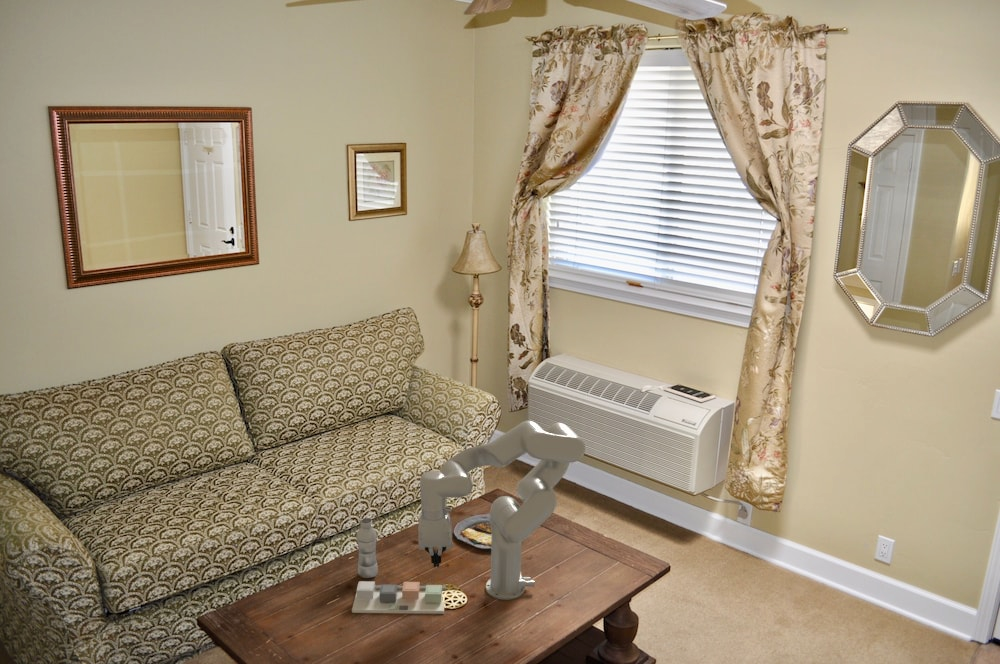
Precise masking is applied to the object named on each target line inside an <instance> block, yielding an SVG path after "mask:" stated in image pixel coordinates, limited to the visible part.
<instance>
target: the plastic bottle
mask: <svg viewBox="0 0 1000 664" xmlns="http://www.w3.org/2000/svg"><path fill="white" fill-rule="evenodd" d="M359 526H360V528H359V529H358V530H357V532H356V536H355V537H356V542H357V546H358V547H357V549H358V563H357V574H358V575H359V576H360V577H361V578H363V579H372V578H374V577H376V576H377V574H378V573H379V572H378V571H379V564H378V562H377V561H378V560H377V554H376V552H377V551H376V549H377V548H376V546H377V538H378V537H377V536H378V535H377V531H376V530H375V529H374V528H373V519H372V518H369V517H366V518H365V517H364V518H362V519H360V525H359Z"/></svg>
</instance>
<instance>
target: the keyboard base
mask: <svg viewBox="0 0 1000 664" xmlns="http://www.w3.org/2000/svg"><path fill="white" fill-rule="evenodd" d="M357 587H358V585H357ZM357 587H356V588H357ZM397 588H398V593H397V599H396V602H380V596H379V593H380V589H381V584H379V585H378V584H377V585H376V584H375V593H374V597H373V599H357V592H356V593H355V596H354V601H353V604H352V608H351V613H352V614H425V615H426V614H430V615H431V614H432V615H436V614H437V615H438V614H440V615H441V614H443V615H444V614H445V607H444V605H445V606H446V602H445V603H442V601H441V603H425V590H426V585H420V593H419V600H408V599H402V589H403V585H398V584H397ZM442 591H446V592H447V586H446V585H442Z"/></svg>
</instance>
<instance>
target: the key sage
mask: <svg viewBox="0 0 1000 664" xmlns="http://www.w3.org/2000/svg"><path fill="white" fill-rule="evenodd" d="M425 586H426V590H425V603H441V600H442V586H443V585H442V584H426V585H425Z"/></svg>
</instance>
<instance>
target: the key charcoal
mask: <svg viewBox="0 0 1000 664" xmlns="http://www.w3.org/2000/svg"><path fill="white" fill-rule="evenodd" d="M380 585H381V589H380V593H379V596H380V602H396V599H397V593H398V588H397V585H398V584H393V583H392V584H387V583H384V584H383V583H382V584H381V583H380Z"/></svg>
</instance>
